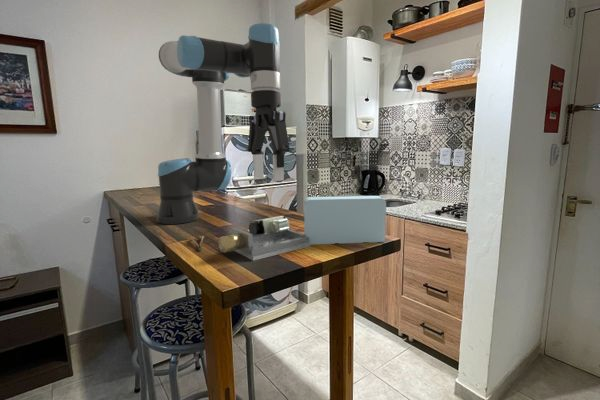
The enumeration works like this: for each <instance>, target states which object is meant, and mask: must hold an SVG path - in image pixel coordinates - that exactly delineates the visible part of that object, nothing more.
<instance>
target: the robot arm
mask: <svg viewBox="0 0 600 400" xmlns="http://www.w3.org/2000/svg"><path fill="white" fill-rule="evenodd" d="M279 34H280V32H279V29H278V27H277V26H276V25H273V24H270V23H267V22H266V23H263V22H261V23H260V22H259V23H255V24H252V25H250V26H249V28H248V36H247V39H248V42H246V43H245V44H241V43H235V42H229V41H222V40H215V39H210V38H204V37H198V36H196V35H181V36H179V37H178V40H170V41H166V42H164V43H163V44H161V46H160V48H159V50H158V61H159V62H160V65H161V66H162V67H163V68H164V69H165V70H166V71H168V72H170V73H172V74H174V75H176V76H180V77H187V78H191V81H192V82H191V83H192V84H193V85H194V86H195V88H196V97H197V98H196V99H197V100H196V101H197V103H196V104H197V126H198V153H197V154H196V155H195V161H192V160H191V159H190V158H189V157H185V158H177V159H170V160H165V161H162V162H160V163H159V164H158V166H157V171H158V173H157V177H158V186H159V196H160V199H159V200H160V201H159V202H160V203H159V207H158V211H157V214H156V221H157V223H158V224H161V225H162V224H164V225H165V224H166V225H176V224H177V225H178V224H186V223H191V222H195V221H197V220H199V218H200V216H199V214H200V213H199V211H198V209H197V206H196V203H195V201H194V196H193V194H194V192H202V191H219V190H224V189H226V188H227V187H228V186H229V184H230V182H231V179H232V167H231V166H232V165H231V163H230V161H229V160H227V157H226V155H225V154H224V153H223V151H222V150H223V149H222V146H223V145H222V143H223V142H222V110H221V109H222V108H221V106H222V103H221V89H222V88H223V87H224V86H225V82H226V81H227V80H228V79H229V78H230V74H234V75H235V76H237V77H238V78H244V79H245V78H249V79H250V91H252V92H251V93H250V101H251V102H250V103H251V104H250V105H251V107H252V108H254V109H255V114H254V115H249V119H248V120H249V132H248V143H247V151H248V152H249V153H251V155H252V165H253V179H264V152H263V146H264V141H265V137H266V134H267V132H268V135H269V139H270V142H271V145H272V148H273V152H272V172H273V173H272V176H273V177H272V178H273V179H272V181H273V182H281V181H285V172H284V171H285V170H284V167H285V155H286V153H289V152H290V150H291V149H290V143H289V136H288V130H287V124H286V111H281V110H278V108H281V102H282V101H281V97H282V96H281V92H280V90H281V88H282V87H281V71H280V70H281V68H280V67H281V61H280V58H281V57H280V55H281V53H280V51H281V49H280V47H281V42H280V35H279Z"/></svg>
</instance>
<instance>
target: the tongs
mask: <svg viewBox="0 0 600 400" xmlns="http://www.w3.org/2000/svg"><path fill="white" fill-rule="evenodd" d="M198 237H199V238H200V239H201V240H200V242H199V244H198V243H197V242H196V241H195V240H194V239H195V236H193V237H189V239H190V241H192V243H193V244H194V245H195V246H196V247H197V248H198V251H199V252H200V253H202V244H203V240H204V238H205V235H199V236H198Z"/></svg>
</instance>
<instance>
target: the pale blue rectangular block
mask: <svg viewBox="0 0 600 400" xmlns="http://www.w3.org/2000/svg"><path fill="white" fill-rule="evenodd" d="M303 206H304V207H303V209H304V212H303V216H304V217H303V218H304V219H303V221H304V222H303V223H304V225H303V226H304V227H303V229H304V230H303V231H304V234H306V236H307V237H309V243H310V245H331V244H332V245H333V244H335V243H339V244H364V243H363V242H369V243H384V242H385V241H386V228H387V226H386V225H387V224H386V223H387V222H386V221H387V219H386V218H387V217H386V216H387V201H386V200H385V199H384V198H382V197H381V196H378V195H358V196H357V195H353V196H308V197H306V198H304V201H303Z"/></svg>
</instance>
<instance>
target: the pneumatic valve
mask: <svg viewBox="0 0 600 400" xmlns="http://www.w3.org/2000/svg"><path fill="white" fill-rule="evenodd" d="M290 226H291V225H290V221H289V219H288V218H287V217H286V216H285V215H277V216H272V217H271V216H270V217H267V218H266V217H265V218H262V219H256V220H252V221H250V222H249V225H248V231H249V232H248V233H250V234H253V235H257V234H262V233H267V232H282V231H286V230H289V229H290Z"/></svg>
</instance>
